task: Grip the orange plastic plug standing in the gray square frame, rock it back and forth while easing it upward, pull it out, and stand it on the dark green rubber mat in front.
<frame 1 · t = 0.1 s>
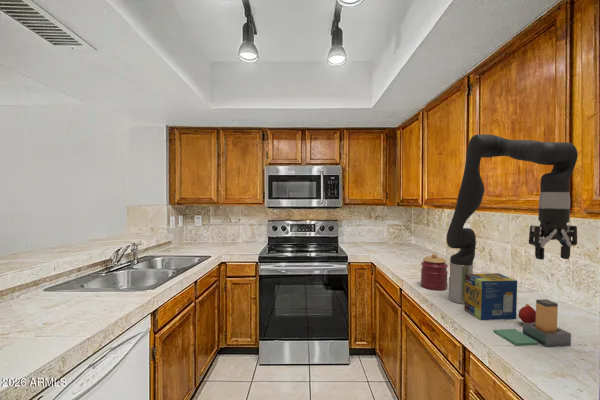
hand: (552, 258, 97), 29 cm above the counter, tool pointing down, fingers open, 8 cm apart
mat: (515, 338, 106), on the counter
gray square frame: (545, 339, 105), on the counter
red apple: (527, 325, 116), on the counter
canister: (433, 287, 163), on the counter
protein box: (489, 315, 126), on the counter
plug: (546, 320, 105), in the gray square frame
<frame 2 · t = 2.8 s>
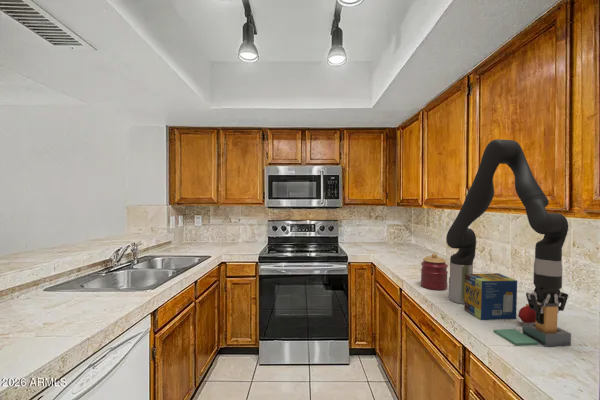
hand: (546, 322, 105), 6 cm above the counter, tool pointing down, fingers closed on plug, 4 cm apart
plug: (546, 320, 105), in the gray square frame, touching gripper
everything else where it was.
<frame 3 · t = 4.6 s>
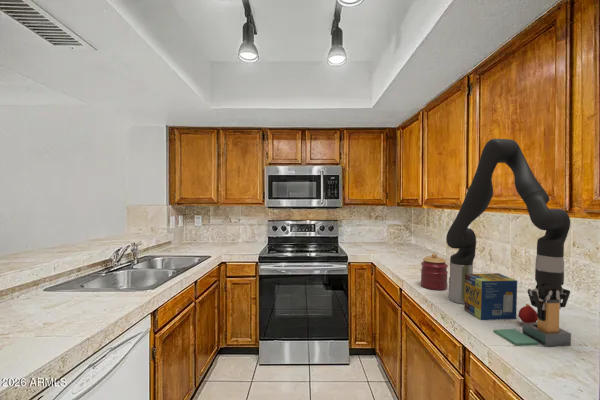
hand: (547, 319, 104), 7 cm above the counter, tool pointing down, fingers closed on plug, 4 cm apart
plug: (548, 317, 104), point 8 cm above the counter, touching gripper, gray square frame
everything else where it was.
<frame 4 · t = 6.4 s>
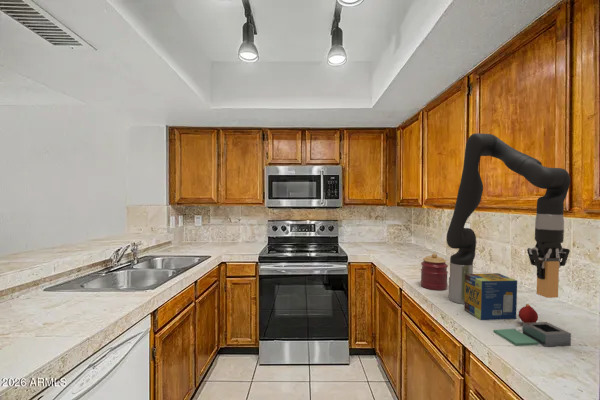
hand: (547, 278, 104), 21 cm above the counter, tool pointing down, fingers closed on plug, 4 cm apart
plug: (547, 276, 104), point 22 cm above the counter, touching gripper
everything else where it was.
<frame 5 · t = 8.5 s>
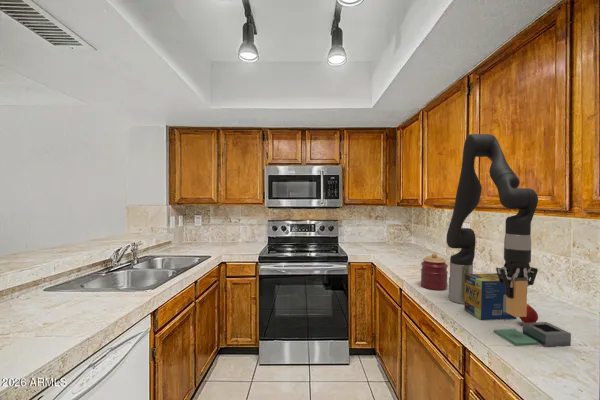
hand: (516, 297, 105), 14 cm above the counter, tool pointing down, fingers closed on plug, 4 cm apart
plug: (516, 295, 105), point 15 cm above the counter, touching gripper
everything else where it was.
when the fingers open (7 cm above the counter, at t = 10.0 s): plug stays where it is, resting on mat.
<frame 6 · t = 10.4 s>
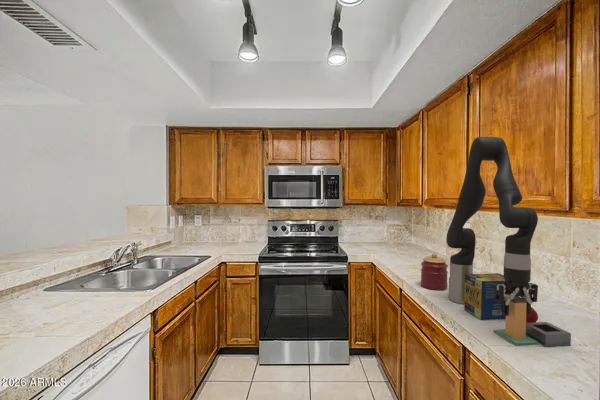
hand: (515, 314, 106), 8 cm above the counter, tool pointing down, fingers open, 7 cm apart
plug: (515, 316, 106), on the mat, point 7 cm above the counter
everything else where it was.
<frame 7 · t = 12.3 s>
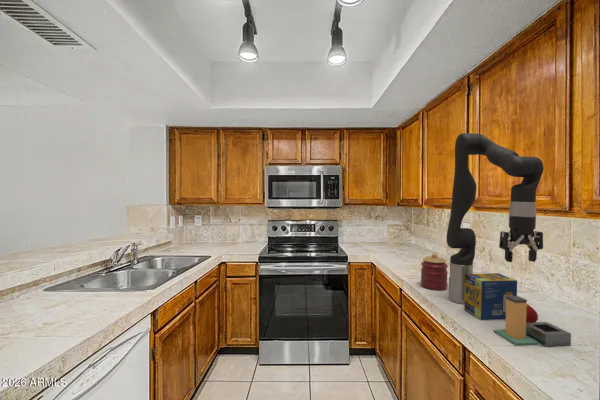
hand: (520, 261, 108), 26 cm above the counter, tool pointing down, fingers open, 8 cm apart
nothing on the counter moved.
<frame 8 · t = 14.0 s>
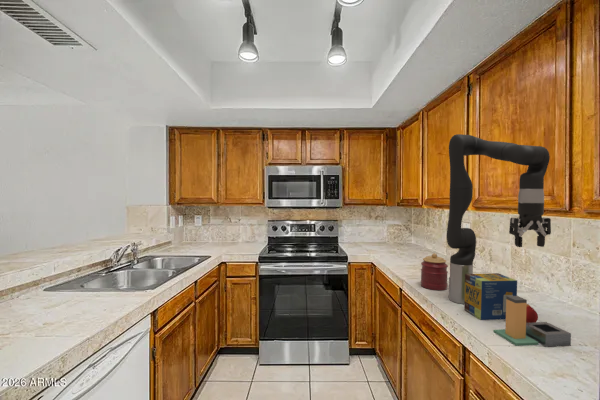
hand: (529, 246, 112), 30 cm above the counter, tool pointing down, fingers open, 8 cm apart
nothing on the counter moved.
at the end: plug inside the target area on the mat (0.1 cm from its centre), point 7.3 cm above the mat's base; plug tilted 0°; plug moved 9.7 cm from its start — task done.
